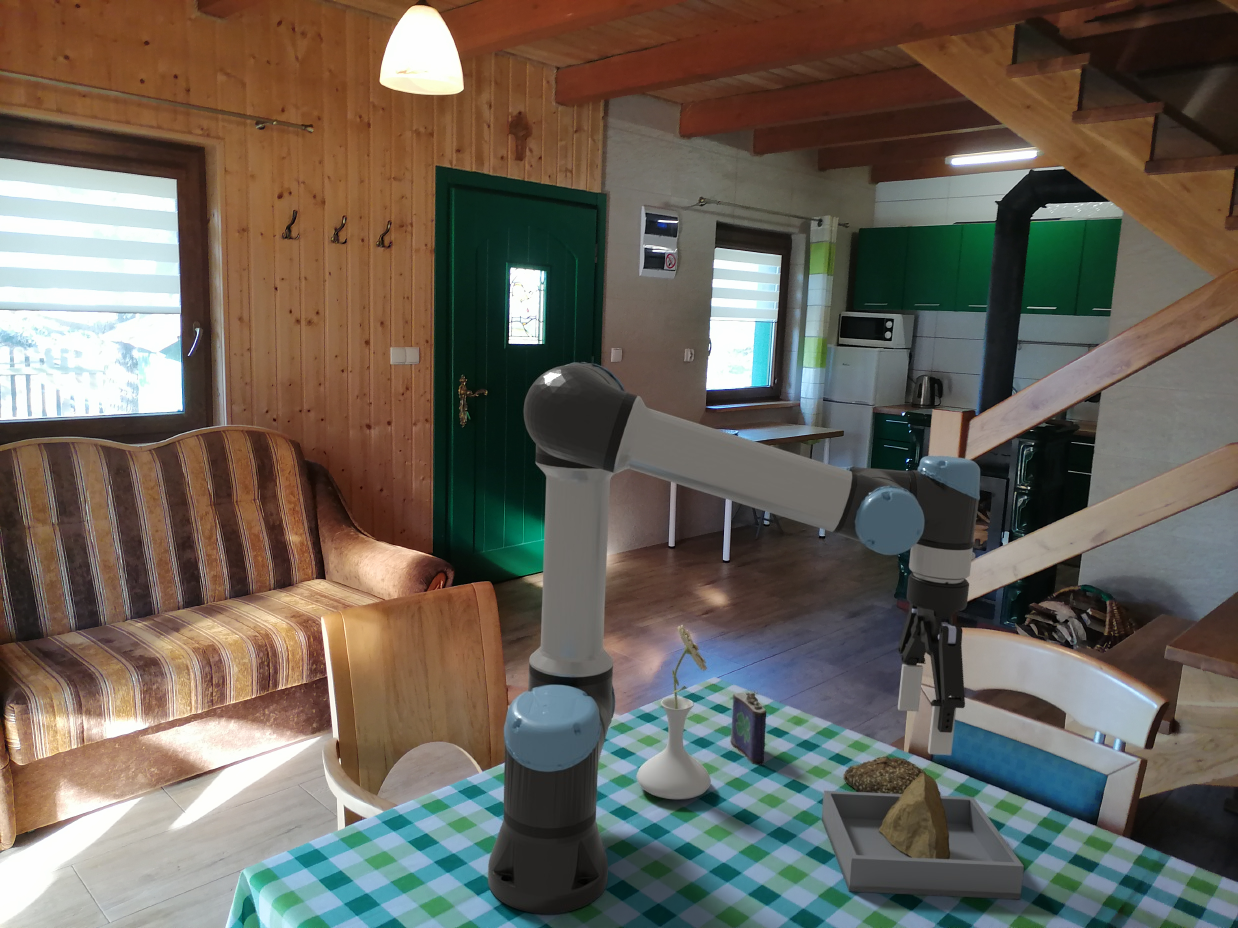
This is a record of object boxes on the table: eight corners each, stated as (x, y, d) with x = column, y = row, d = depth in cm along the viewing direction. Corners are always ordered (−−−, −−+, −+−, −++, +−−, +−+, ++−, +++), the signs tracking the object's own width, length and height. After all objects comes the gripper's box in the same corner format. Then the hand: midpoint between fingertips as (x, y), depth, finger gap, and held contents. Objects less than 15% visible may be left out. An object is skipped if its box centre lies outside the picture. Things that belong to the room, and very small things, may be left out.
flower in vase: (707, 811, 137) (716, 647, 133) (631, 802, 138) (637, 640, 135) (713, 770, 149) (721, 620, 146) (642, 763, 151) (649, 614, 148)
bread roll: (896, 815, 138) (899, 784, 137) (832, 781, 148) (834, 752, 147) (948, 793, 145) (951, 763, 145) (884, 762, 155) (886, 734, 155)
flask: (727, 741, 160) (731, 682, 159) (742, 740, 161) (746, 680, 160) (753, 765, 152) (757, 703, 150) (769, 763, 153) (773, 701, 151)
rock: (973, 863, 120) (961, 815, 129) (937, 812, 119) (927, 767, 128) (899, 895, 123) (892, 846, 132) (863, 846, 122) (859, 800, 132)
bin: (849, 891, 118) (851, 858, 117) (821, 819, 135) (823, 790, 135) (1020, 899, 118) (1023, 865, 117) (970, 826, 135) (973, 797, 134)
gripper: (1005, 605, 109) (985, 776, 112) (937, 554, 133) (922, 695, 136) (941, 601, 109) (923, 772, 112) (884, 551, 133) (871, 692, 136)
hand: (922, 730), depth 124 cm, fingers open, 13 cm apart
